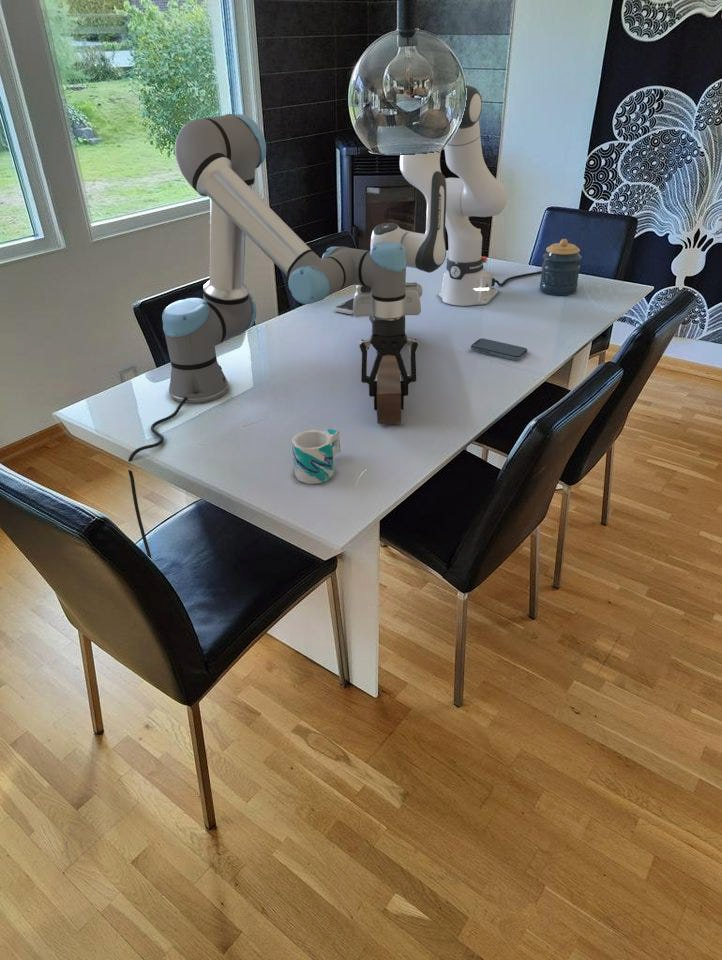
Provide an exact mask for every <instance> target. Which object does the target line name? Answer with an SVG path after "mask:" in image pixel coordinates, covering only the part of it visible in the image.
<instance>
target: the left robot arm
mask: <svg viewBox="0 0 722 960" xmlns="http://www.w3.org/2000/svg"><path fill="white" fill-rule="evenodd" d="M174 142H175V143H174V156H175V160H176V163H177V167H178V169H179V171H180V173H181V175H182V176H183V177H184V179H185V181H186V182H187V183H188V185H190V186H191V188H192V189H193V190H194V191H195V192H196V193H198V195H199V196H201V197H208V198H209V201H210V203H209V204H210V207H209V208H210V209H209V210H210V211H209V224H210V225H209V280H208V281H206V283H204V284H203V288H202V289H203V290H202V293H203V297H202V298H199V297H187V298H185V299H179V300H176V301H174V302H172V303H170V304H168V306H166V307H165V308H164V310H163V311H162V314H161V318H162V330H163V333H164V337H165V342H166V345H167V352H168V356H169V361H170V367H171V369H170V370H171V371H170V377H169V386H168V393H169V397H170V398H171V400H173V401H175V402H177V403H179V404H178V406H177V407H176V409H175V411H174V412H173V413H171V414H170V415H168V416H166V417H163V418H161V419H158V420H157V421H154V422H153V423H152V424H151V426H150V431H151V432H152V433H153V435H155V436H156V437H158V438H159V441H157V442H155V443H152V444H147V445H143V446H139V447H138V448H135V450H133V452H131V454H130V455H129V457H128V460H127V461H128V462H132V461H133V460H134V457H135V456H136V455H137V454H138V453H139V452H141V451H145V450H149V449H152V448H156V447H159V446H161V445H162V444H163V442H164V440H165V439H164V436H163V435H162V434H161V433H160V432H158V431H157V430H156V429H155V428H156V426H158V425H159V424H162V423H164V422H167V421H169V420H171V419H173V418H174V417H175V416H177V414H179V412H180V410H181V409H182V407H183V406H184V404H188V405H189V404H190V405H196V404H197V405H198V404H204V403H208V402H212V401H214V400H217V399H219V398H221V397H223V396H224V395H225V394H227V392H228V391H229V383H228V379H227V378H226V375H225V374H224V372H223V368H222V366H221V365H220V363H219V362H218V358H217V352H216V346H218V345H221V344H222V343H225V342H227V341H229V340H231V339H233V338H235V337H238V336H240V335H242V334H244V333H245V332H246V331H248V330H250V329H251V327H252V326H253V325H254V323H255V322H256V318H257V305H256V302H255V301H254V298H253V297H254V296H252V294H251V293H250V291H249V290H250V289H249V287H248V286H247V285H246V284H245V283H244V280H245V279H244V277H245V258H246V257H245V255H246V253H245V252H246V236H247V237H248V238H249V239H250V240H251V242H253V243H254V245H256V247H258V248H259V249H260V251H262V252H263V253H264V255H266V256H267V257H268V258H269V259H270V260H271V261H272V263H273V264H275V265H276V266H277V267H278V268H279V270H280V271H282V273H283V274H285V276H286V277H288V282H287V283H288V284H287V285H288V289H289V291H290V293H291V296H292V297H293V299H294V300H295V301H297V302H298V303H300V304H302V305H303V304H304V305H310V304H314V303H317V302H321V301H324V299H326V298H327V297H329V296H331V295H332V294H334V293H337V292H339V291H341V290H344V289H346V288H347V287H349V286H353V285H355V286H356V285H361V286H367V287H371V290H372V314H373V317H372V323H371V336H370V338H369V339H368V338H367V339H359V340H360V341H359V349H360V352H361V371H360V372H361V373H360V374H361V375H360V381H361V383H363V384H367V385H368V396H369V397H370V398H371V397H373V410H374V411H377V380H376V379H377V372H378V369H379V365H380V362H381V360H382V357H383V356H386V355H391V356H395V357H396V360H397V363H398V366H399V369H400V377H401V380H400V381H401V411H405V397H408V396H409V392H410V384H411V383H416V382H417V380H418V379H417V350H418V347H419V341H418V339H417V338H413V339H412V338H408V336H407V334H406V315H405V316H404V314H405V308H406V296H405V283H407V281H406V279H407V277H406V276H407V268H408V267H407V265H406V252H405V247H404V246H403V245H402V244H400V243H397V242H379V243H375V244H374V245H373V246H372V247H371V251H370V250H366V249H358V248H352V247H351V248H350V247H348V246H345V245H342V246H330V247H328V248H327V249H326V250H325V252H323V254H322V257H320V256H319V255H318V254H317V253H315V252H314V251H313V250H312V249H311V248H310V247H309V245H307V243H305V241H304V240H303V239H302V238H300V237H299V235H298V234H297V233H295V232H294V230H293V229H292V228H291V227H290V226H289V225H288V224H287V223H286V222H284V220H282V218H281V217H280V216H279V215H278V214H277V213H276V212H275V211H274V210H273V209H272V208H271V207H270V206H269V205H268V204H267V203H266V201H264V200H263V199H262V198H261V197H260V196H259V195H258V194H257V193H256V192H255V191H254V190H253V189H252V187H253V186H254V185H255V180H256V179H255V178H256V169H258V168H260V167H261V165H262V164H263V163H264V161H265V159H266V156H267V143H266V139H265V136H264V133H263V132H262V130H261V129H260V127H259V125H258V124H257V123H256V122H255V120H254V119H252V118H251V117H250V116H247V115H245V114H241V113H236V114H233V113H227V114H223V115H217V116H211V117H205V118H204V117H202V118H201V117H200V118H194V119H191V120H190V121H188V122H187V123H185V124H184V125H183V126H182V127H181V128H180V130H179V131H178V133H177V136H176V139H175V141H174ZM406 345H407V348H408V350H409V355H410V357H409V359H410V375H409V374H408V371H407V368H406V365H405V362H404V359H403V355H402V350H403V349H404V347H405V346H406ZM370 346H372V347H373V348H374V349H375V351H376V354H375V357H374V361H373V364H372V367H371V371H370V373H369V375H367V371H368V370H367V369H368V350H370ZM127 471H128V476H129V479H130V487H131V494H132V499H133V505H134V510H135V514H136V519H137V523H138V527H139V531H140V534H141V538H142V542H143V545H144V548H145V553H146V555H147V557H148V556H149V557H150V558H151V557H152V554H151V550H150V546H149V543H148V540H147V535H146V533H145V530H144V529H145V528H144V525H143V521H142V518H141V512H140V507H139V503H138V497H137V491H136V484H135V483H136V482H135V477H134V473H133V471H132V470H131V469H127ZM151 559H152V560H153V557H152V558H151Z"/></svg>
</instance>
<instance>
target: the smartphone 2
mask: <svg viewBox="0 0 722 960" xmlns="http://www.w3.org/2000/svg"><path fill="white" fill-rule="evenodd" d="M470 350H472V351H475V352H478V353H482V354H483V353H484V354H488V355H491V356H495V357H500V358H504V359H509V360H513V361H519V360H520V359H522V358H523V357H524V356H525V355H526V354H528V348H527V347H524V346H519V345H515V344H511V343H506V342H501V341H497V340H493V339H488V338H484V337H483V338H481V337H480V338H478V339H477V340H476V341H474V342H473V343H472V344H471V345H470Z"/></svg>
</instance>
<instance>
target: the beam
mask: <svg viewBox="0 0 722 960" xmlns="http://www.w3.org/2000/svg"><path fill="white" fill-rule="evenodd" d="M376 381H377V410H376V418H377V419H376V422H377V424H378V425H379V424H380V425H381V424H383V425H384V424H402V410H401V381H402V380H401V372H400V369H399V366H398V363H397V360H396V357H395V356H391V355H386V356H383V357H382V360H381V362H380V365H379V369H378V372H377V375H376Z"/></svg>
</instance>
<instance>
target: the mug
mask: <svg viewBox="0 0 722 960" xmlns="http://www.w3.org/2000/svg"><path fill="white" fill-rule="evenodd" d="M340 434H341V433H340V430H337V429H333V428H331V427H329V428H328V429H327V430H325V431H323V430H319V429H311V430H309V429H308V430H304V431H301V432H299V433H297V434H295V435H294V436H293V438H292V439H291V448H292V449H291V450H292V457H293V459H292V460H293V467H294V469H293V470H294V476H295V477H296V478H297V481H299V482H302V483H305V484H308V485H314V484H322V483H325V482H327V481H329V480H331V479H332V477H333V475H334V474H335V467H334V457H336V456H337V455H338V454H339V453H340V452H341V435H340Z"/></svg>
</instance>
